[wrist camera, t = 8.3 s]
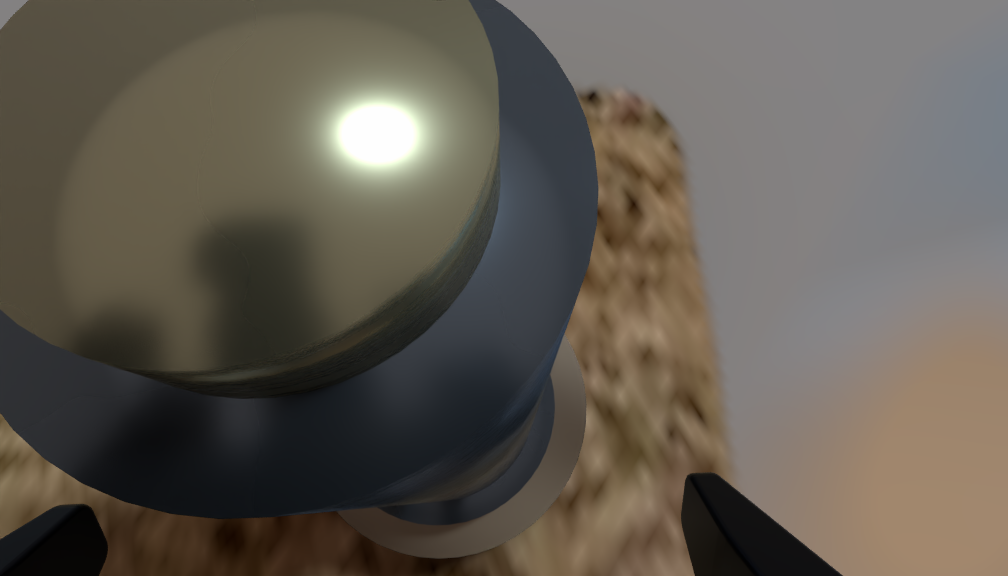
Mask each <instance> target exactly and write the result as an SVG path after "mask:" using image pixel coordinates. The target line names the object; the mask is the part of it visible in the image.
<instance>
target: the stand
mask: <svg viewBox="0 0 1008 576" xmlns="http://www.w3.org/2000/svg"><path fill="white" fill-rule="evenodd" d="M550 375H551V379H552V384H553V389H554V400H555V414H554V424H553V429H552V434H551V438H550V441H549V444H548V447H547V450H546V453H545V455H544V457H543V459H542V461H541V463H540V465H539V467H538V468H537V470H536V471H535V473H534V474H533V476H532V477H531V479H530V480H529V481H528V482H527V483H526V484H525V486H524V487H523V488H522V489H521V490H520V491H519V492H518V493H517V494H516V495H515V496H513V497H512V498H511V499H510V500H509V501H508V502H506V503H505V504H503V505H502V506H500V507H499V508H497V509H496V510H494V511H492V512H490V513H488V514H486V515H484V516H482V517H479V518H476V519H473V520H470V521H467V522H463V523H457V524H452V525H424V524H417V523H413V522H409V521H405V520H401V519H399V518H397V517H394V516H392V515H389V514H387V513H386V512H384V511H382V510H381V509H379V508H377V507H375V508H364V509H353V510H342V511H336V512H337V513H338V514H339V515H340V516H341V517H342V518H343V519H344V520H345V521H346V522H347V523H348V524H349V525H350V526H352V527H353V528H354V529H355V530H357V531H358V532H359V533H360V534H362V535H363V536H365V537H367V538H368V539H370V540H372V541H374V542H375V543H377V544H379V545H381V546H383V547H386V548H388V549H391V550H394V551H396V552H399V553H403V554H407V555H412V556H416V557H424V558H437V559H440V558H455V557H462V556H467V555H472V554H477V553H480V552H483V551H486V550H488V549H491V548H494V547H497V546H499V545H501V544H503V543H504V542H506V541H508V540H510V539H512V538H514V537H516V536H517V535H518V534H520V533H521V532H523V531H524V530H525V529H527V528H528V527H530V526H531V525H532V524H533V523H534V522H535V521H536V520H538V519H539V518H540V517H541V516H542V515H543V514H544V513H545V512H546V511H547V510H548V509H549V507H550V506H551V505H552V504H553V502H554V501H555V500H556V499H557V497H558V496H559V495H560V493H561V491H562V490H563V488H564V487H565V485H566V483H567V482H568V480H569V478H570V476H571V474H572V472H573V469H574V467H575V465H576V462H577V460H578V457H579V453H580V450H581V446H582V443H583V438H584V431H585V425H586V396H585V387H584V382H583V378H582V374H581V369H580V366H579V363H578V361H577V358H576V356H575V353H574V350H573V349H572V347H571V345H570V343H569V341H568V339H567V337H566V336H565V334H564V336H563V339H562V342H561V345H560V347H559V350H558V353H557V356H556V359H555V362H554V364H553V367H552V370H551V373H550Z"/></svg>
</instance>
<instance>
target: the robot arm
mask: <svg viewBox="0 0 1008 576" xmlns="http://www.w3.org/2000/svg"><path fill="white" fill-rule="evenodd" d="M681 521H682V528H683V532H684V536H685V540H686V544H687V548H688V551H689V555H690V559H691V563H692V566H693V570H694V574H695V576H843V575H841V574H840V573H839V572H838V571H836V570H835V569H834V568H833V567H831V566H830V565H829V564H828V563H826V562H825V561H824V560H823V559H822V558H820V557H819V556H818V555H817V554H815V553H814V552H813V551H812V550H810V549H809V548H808V547H807V546H805V545H804V544H803V543H802V542H800V541H799V540H798V539H797V538H795V537H794V536H793V535H792V534H791V533H789V532H788V531H787V530H786V529H784V528H783V527H782V526H781V525H779V524H778V523H777V522H776V521H774V520H773V519H772V518H771V517H770V516H768V515H767V514H766V513H764V512H763V511H762V510H761V509H760V508H758V507H757V506H756V505H755V504H753V503H752V502H751V501H750V500H748V499H747V498H746V497H745V496H744V495H742V494H741V493H740V492H739V491H737V490H736V489H735V488H734V487H732V486H731V485H730V484H729V483H727V482H726V481H725V480H724V479H722V478H721V477H720V476H719V475H717V474H715V473H711V472H708V473H691V474H689V475H688V476H687V478H686V480H685V487H684V495H683V503H682V511H681ZM107 551H108V545H107V541H106V538H105V536H104V534H103V531H102V529H101V527H100V525H99V523H98V520H97V518H96V516H95V514H94V511H93V510H92V508H91V507H89V506H88V505H85V504H70V505H59V506H56V507H53V508H51V509H50V510H48V511H46V512H45V513H43V514H42V515H40V516H38V517H37V518H35V519H33V520H32V521H30V522H28V523H27V524H25V525H23V526H22V527H20V528H18V529H17V530H15V531H13V532H12V533H10V534H9V535H7V536H5V537H4V538H2V539H0V576H99V574H100V572H101V569H102V567H103V565H104V563H105V560H106V557H107Z"/></svg>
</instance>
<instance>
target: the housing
mask: <svg viewBox="0 0 1008 576" xmlns="http://www.w3.org/2000/svg"><path fill="white" fill-rule="evenodd" d="M597 204H598V180H597V170H596V161H595V151H594V148H593V144H592V140H591V136H590V132H589V128H588V124H587V120H586V117H585V115H584V112H583V110H582V108H581V105H580V103H579V101H578V98H577V96H576V94H575V91H574V89H573V87H572V85H571V83H570V82H569V80H568V78H567V77H566V75H565V74H564V72H563V70H562V69H561V67H560V65H559V64H558V62H557V60H556V59H555V58H554V56H553V55H552V54H551V53H550V51H549V50H548V49H547V48H546V47H545V45H544V44H543V43H542V42H541V40H540V39H539V38H538V37H537V36H536V34H535V33H534V32H533V31H532V30H531V29H529V28H528V27H527V26H526V25H525V24H524V23H523V22H522V21H521V20H520V19H519V18H518V17H517V16H515V15H514V14H513V13H512V12H511V11H510V10H508V9H507V8H506V7H504V6H503V5H501V4H500V3H498V2H497V1H496V0H29V1H28V2H26V4H24V5H23V6H22V7H21V8H20V9H19V10H18V11H17V12H16V13H15V14H14V15H13V16H12V17H11V18H10V19H9V21H8V22H7V23H6V24H5V25H4V26H3V28H2V29H1V30H0V413H1V414H2V416H3V417H4V418H5V420H6V421H7V422H8V423H9V425H10V426H11V427H12V429H13V430H14V431H15V432H16V433H17V434H18V435H19V436H21V437H22V438H23V439H24V440H25V441H26V442H27V443H28V444H29V445H30V446H31V447H32V448H33V449H35V450H36V451H37V452H38V453H39V454H40V455H41V456H42V457H43V458H44V459H46V460H47V461H49V462H50V463H52V464H53V465H55V466H56V467H58V468H59V469H61V470H63V471H64V472H66V473H67V474H69V475H70V476H72V477H73V478H75V479H76V480H78V481H79V482H81V483H83V484H85V485H87V486H90V487H92V488H94V489H97V490H99V491H101V492H103V493H106V494H108V495H110V496H113V497H115V498H117V499H119V500H122V501H124V502H128V503H131V504H135V505H139V506H143V507H147V508H151V509H154V510H158V511H162V512H166V513H170V514H178V515H187V516H197V517H206V518H216V519H232V518H259V517H277V516H288V515H299V514H310V513H320V512H331V511H342V510H353V509H364V508H375V507H377V508H379V509H381V510H382V511H384V512H386V513H387V514H389V515H392V516H394V517H397V518H399V519H401V520H405V521H409V522H413V523H417V524H424V525H452V524H457V523H463V522H467V521H470V520H473V519H476V518H479V517H482V516H484V515H486V514H488V513H490V512H492V511H494V510H496V509H497V508H499V507H500V506H502V505H503V504H505V503H506V502H508V501H509V500H510V499H511V498H512V497H513V496H515V495H516V494H517V493H518V492H519V491H520V490H521V489H522V488H523V487H524V486H525V484H526V483H527V482H528V481H529V480H530V479H531V477H532V476H533V474H534V473H535V471H536V470H537V468H538V467H539V465H540V463H541V461H542V459H543V457H544V455H545V453H546V450H547V447H548V444H549V441H550V438H551V434H552V429H553V424H554V414H555V400H554V389H553V384H552V379H551V375H550V373H551V370H552V367H553V364H554V362H555V359H556V356H557V353H558V350H559V347H560V345H561V342H562V339H563V336H564V333H565V330H566V328H567V325H568V322H569V319H570V316H571V313H572V311H573V308H574V305H575V302H576V299H577V296H578V293H579V291H580V288H581V285H582V282H583V279H584V276H585V273H586V271H587V268H588V265H589V261H590V256H591V251H592V246H593V241H594V235H595V230H596V225H597Z"/></svg>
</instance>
